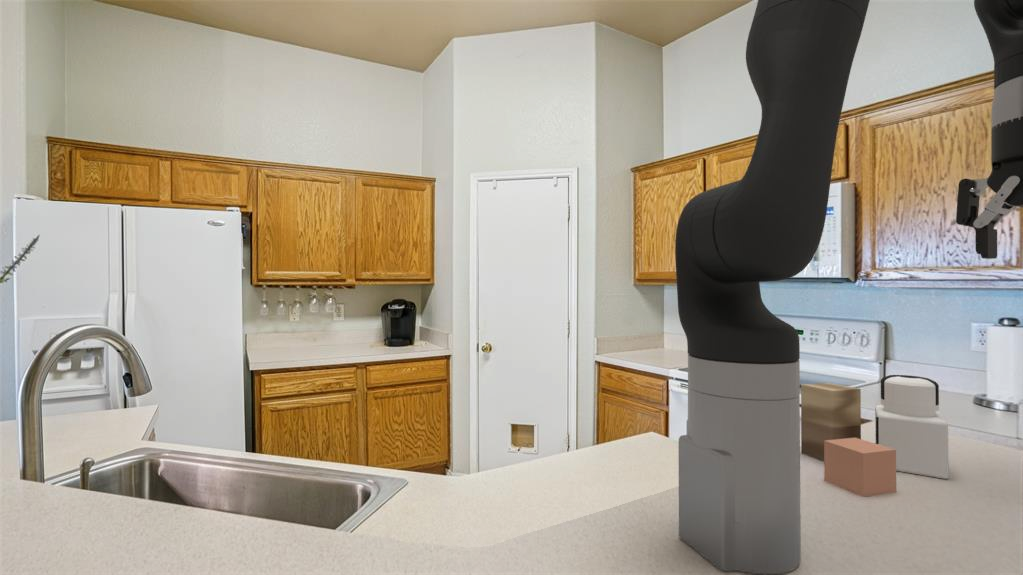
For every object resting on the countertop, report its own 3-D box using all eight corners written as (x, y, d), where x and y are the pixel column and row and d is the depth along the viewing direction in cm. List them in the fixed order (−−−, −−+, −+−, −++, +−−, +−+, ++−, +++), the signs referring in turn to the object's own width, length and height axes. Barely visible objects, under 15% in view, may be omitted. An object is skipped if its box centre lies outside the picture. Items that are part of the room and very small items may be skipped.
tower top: (832, 427, 65) (832, 390, 66) (801, 418, 70) (801, 384, 70) (860, 425, 67) (860, 388, 67) (828, 416, 72) (827, 382, 72)
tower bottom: (832, 464, 65) (832, 427, 65) (801, 453, 70) (801, 418, 70) (861, 461, 67) (860, 425, 67) (828, 450, 72) (828, 416, 72)
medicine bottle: (875, 453, 70) (875, 370, 70) (941, 464, 66) (940, 375, 66) (877, 468, 64) (876, 377, 64) (949, 480, 60) (948, 383, 60)
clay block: (863, 497, 55) (863, 453, 55) (824, 481, 60) (824, 440, 60) (896, 492, 56) (895, 449, 57) (855, 477, 61) (855, 437, 61)
